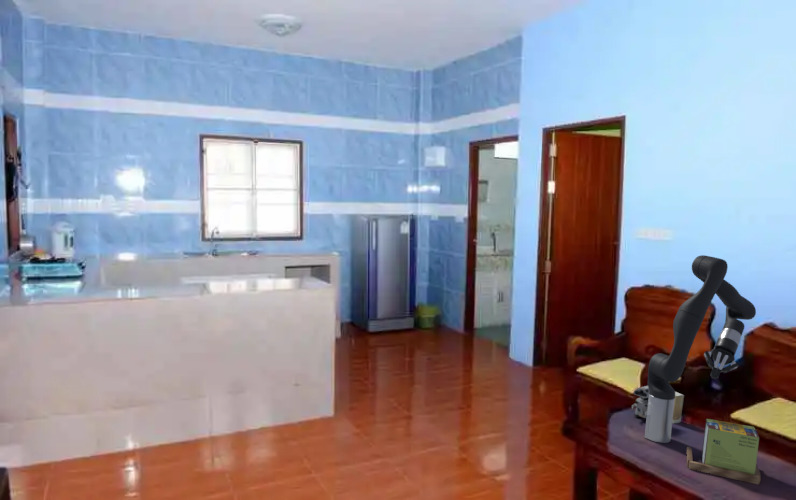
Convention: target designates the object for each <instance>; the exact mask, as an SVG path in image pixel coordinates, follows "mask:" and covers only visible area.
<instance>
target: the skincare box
mask: <svg viewBox="0 0 796 500" xmlns="http://www.w3.org/2000/svg"><path fill="white" fill-rule="evenodd" d="M684 398H685V395H684V394H682V393H679V392H677V391H675V401H674V411H673V420H672V424H679V423H681V421H682V413H683V412H682V411H683V406H684Z"/></svg>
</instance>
